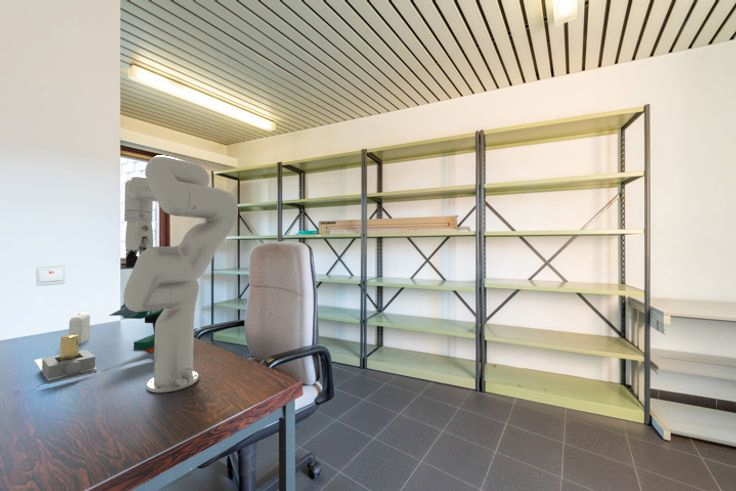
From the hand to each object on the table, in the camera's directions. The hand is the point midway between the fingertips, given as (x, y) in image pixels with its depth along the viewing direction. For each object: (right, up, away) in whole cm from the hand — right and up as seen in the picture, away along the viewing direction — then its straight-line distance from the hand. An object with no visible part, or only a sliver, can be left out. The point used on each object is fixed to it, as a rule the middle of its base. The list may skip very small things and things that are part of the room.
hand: (137, 267), depth 101 cm
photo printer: (-36, -32, +17) cm, 51 cm away
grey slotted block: (-19, -32, -6) cm, 37 cm away
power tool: (-6, -32, +11) cm, 35 cm away
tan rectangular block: (-14, -30, -9) cm, 35 cm away
